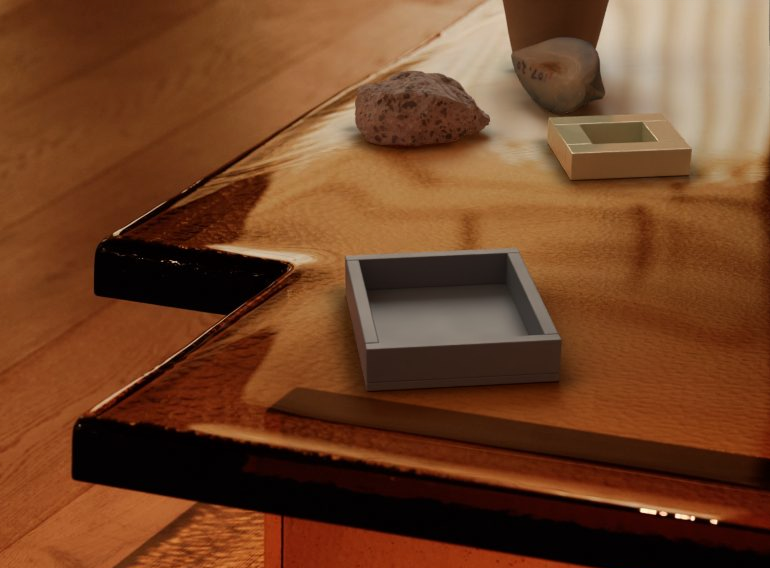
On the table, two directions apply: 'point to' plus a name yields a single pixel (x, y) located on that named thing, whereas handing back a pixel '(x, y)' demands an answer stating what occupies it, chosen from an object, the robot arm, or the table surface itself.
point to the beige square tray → (618, 146)
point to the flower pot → (553, 20)
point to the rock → (417, 110)
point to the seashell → (560, 73)
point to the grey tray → (449, 320)
